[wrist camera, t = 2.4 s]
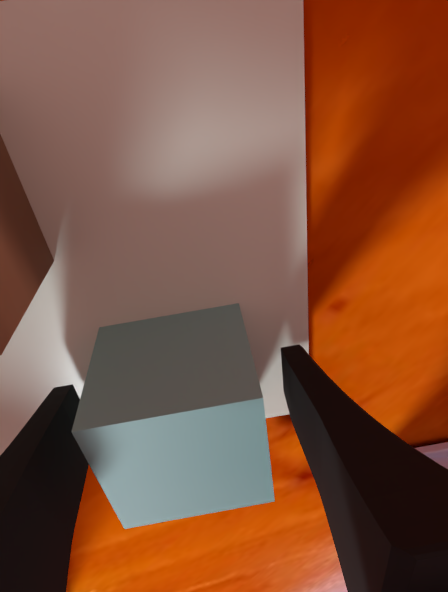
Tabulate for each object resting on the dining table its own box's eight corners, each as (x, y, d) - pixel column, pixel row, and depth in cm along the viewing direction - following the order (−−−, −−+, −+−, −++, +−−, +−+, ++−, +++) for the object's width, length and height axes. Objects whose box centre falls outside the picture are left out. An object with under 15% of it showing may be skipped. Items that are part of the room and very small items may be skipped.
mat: (294, -41, 8) (302, -47, 8) (305, 398, 16) (309, 410, 16) (-361, 61, 8) (-396, 62, 8) (-32, 459, 16) (-38, 472, 15)
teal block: (238, 303, 12) (263, 397, 9) (251, 398, 15) (274, 501, 11) (99, 327, 12) (71, 432, 9) (135, 419, 15) (124, 528, 11)
